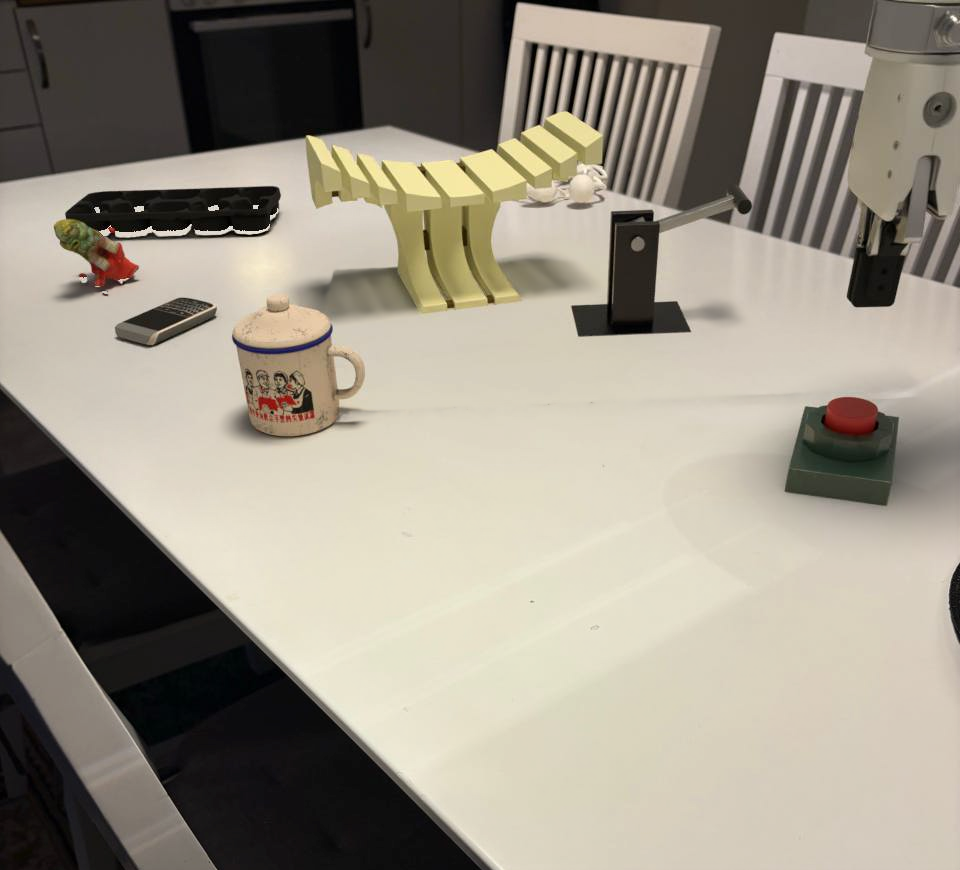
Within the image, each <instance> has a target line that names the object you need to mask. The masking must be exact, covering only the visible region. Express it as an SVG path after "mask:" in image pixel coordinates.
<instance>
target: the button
mask: <svg viewBox="0 0 960 870" xmlns="http://www.w3.org/2000/svg"><path fill="white" fill-rule="evenodd" d="M826 405H827V411H826V416H825V422H824V425H825V427H826V428H827V429H830V430H832V431H835V432H837V433H840V434H848V435H864V434H870V433H872V432H873V431H874V428H875V423H876V419H877V414H878V411H879V407H878V406H877V405H876V404H875V403H874V402H872V401H870V400H868V399H865V398H862V397H856V396H841V397H840V396H839V397H836V398H833V399H831V400H830V401H829V402H828V403H827V404H826Z"/></svg>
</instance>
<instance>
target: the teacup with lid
mask: <svg viewBox="0 0 960 870" xmlns="http://www.w3.org/2000/svg"><path fill="white" fill-rule="evenodd" d="M333 331H334V328H333V324H332V323H331V320H330V319H329V318H328V316H327V315H326V314H324V313H323V312H321V311H319V310H317V309H315V308H310V307H303V306H300V305H297V304H294V303H291V302H290V299H289V297H288V296H287V295H285V294H283V293H282V294H281V293H277V294H272V295H270V296H268V297H267V299H266V305H265V306H263V307H261V308H259V309H258V310H257V311H255V312H252V313H250V314H248V315H246V316H244V317H242V318H241V319H240V320H238V321H237V322H236V323H235V325H234V327H233V329H232V336H231V340H232V343H233V344H234V345H235V346H236V347H235V348H236V351H237V358H238V362H239V363H238V364H239V368H240V373H241V379H242V384H243V389H244V390H243V391H244V395H245V400H246V405H247V411H248V415H249V416H248V417H249V420H250V423H251V425H252V426H253V427H254V428H255V429H256V430H258V431H259V432H261V433H264V434H267V435H270V436H278V437H298V436H305V435H309V434H313V433H316V432H319V431H321V430H324V429H326V428H328V427H329V426H331V425H332V424H333V423H335V422H336V420H338V418H339V416H340V414H341V410H338V409H339V407H340V400H347V399H351V398H352V397H354V396H355V395H356V394H357V393H358V392H359V391H360V390H361V388H362V386H363V384H364V381H365V377H366V368H365V364H364V361H363V358H362V357H361V356H360V355H359V353H357V352H356V351H355V350H353V349H352V348H349V347H347V346H343V345H342V346H341V345H333V341H332V334H333ZM335 357H340V358H342V359H346V361H349V362H350V363H351V365H352V366H353V368H354V371H355V378H354V380H355V381H354V383H353V385H352V386H350V387H349V388H341V389H340V388H338V380H337V373H336V372H337V371H336V365H335Z"/></svg>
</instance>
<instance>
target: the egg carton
mask: <svg viewBox="0 0 960 870" xmlns="http://www.w3.org/2000/svg"><path fill="white" fill-rule="evenodd" d="M281 198H282V192H281V189H280V188H279V186H275V185H256V186H230V187H226V186H225V187H205V188H204V187H203V188H202V187H199V188H170V189H169V188H168V189H167V188H166V189H138V190H135V189H133V190H104V191H95V192H90V193H88V194H86V195H85V196H84V197H82V198H81V199H80V200H78V201H77V202H76V203H74V204H73V205H72V206H71V207H70V208H69V209H67V210H66V211H65V213H64V215H65V219H74V220H78V221H80V222H83V223H85V224H86V225H87V226H88V227H90V228H92V229H94V230H97V231H101V230H105V229H107V228H108V227H109V226H110V225H111V227H112V228H114V230H115V231H119V232H134V231H135V232H136V231H141V230H145V229H147V228H148V227H150V226H152V229H153V230H156V231H167V230H169V231H170V230H171V231H173V230H174V231H176V230H183V229H185V228H187V227H188V226H189V225H190V224H192V230H193V229H195V230H200V231H207V230H208V231H221V230H225V229H227V228H228V227H229V226H233V229H235V230H240V231H242V230H243V231H244V230H245V231H259V230H263V229H266V228H267V227H268V226H269V224H270V222H271V221H270V215H273V214H275V213H276V212H277V208H278V207H279V208H280V200H281ZM214 205H218V207H219V210H215V211H209V210H208V207H211V206H214ZM253 205H259V206H258V209H253ZM137 206H144V211H141V212H135V209H134V207H137ZM95 207H99V209H100V213H96V211H95V209H94V208H95Z"/></svg>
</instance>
